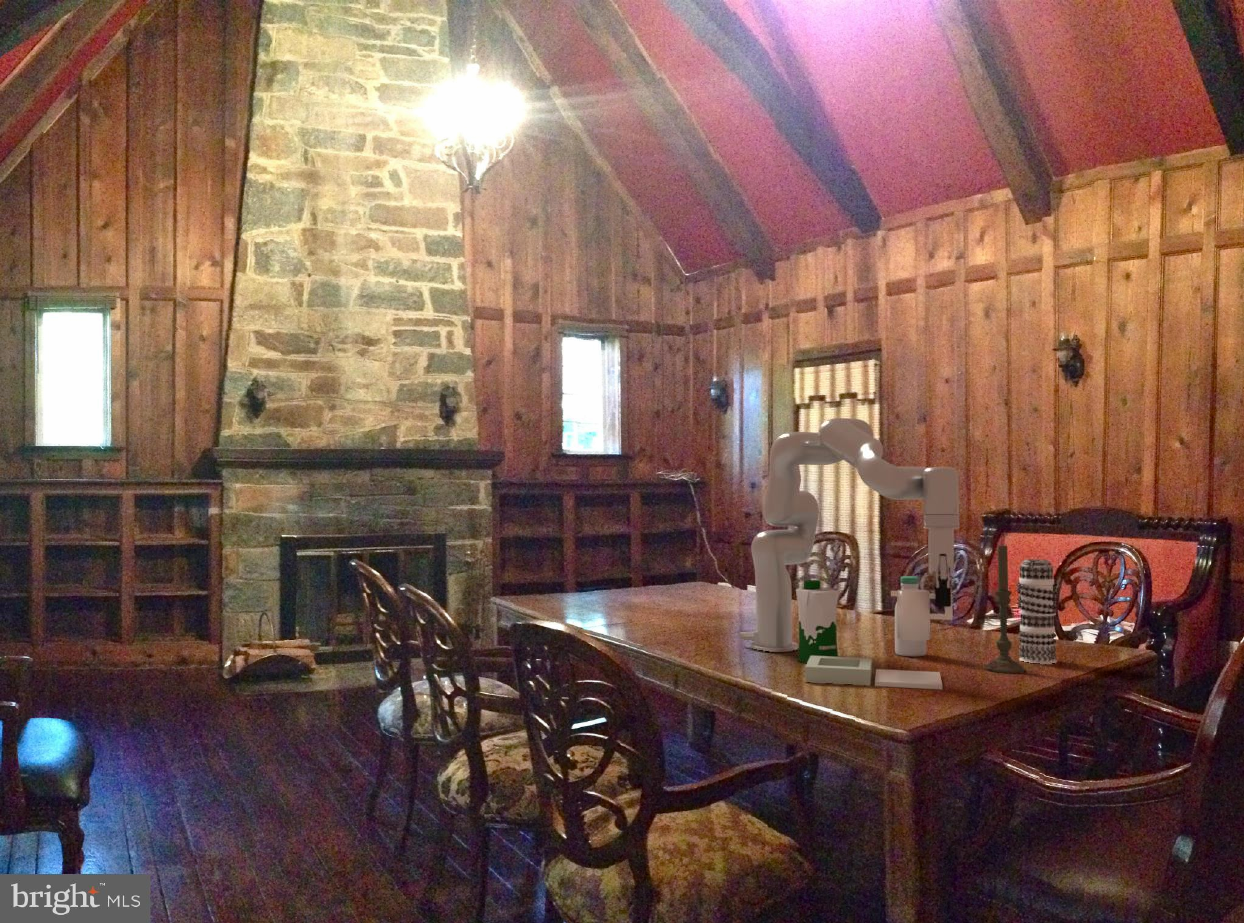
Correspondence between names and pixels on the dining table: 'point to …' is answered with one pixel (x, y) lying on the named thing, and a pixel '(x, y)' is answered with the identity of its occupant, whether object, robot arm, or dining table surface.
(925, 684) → the tile
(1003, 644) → the candlestick holder
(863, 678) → the holder
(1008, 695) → the dining table surface
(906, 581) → the milk bottle
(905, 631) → the capsule with loop handle
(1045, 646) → the decorative candle
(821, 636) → the milk carton
